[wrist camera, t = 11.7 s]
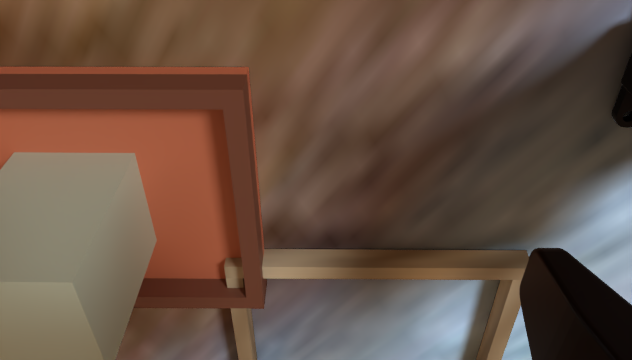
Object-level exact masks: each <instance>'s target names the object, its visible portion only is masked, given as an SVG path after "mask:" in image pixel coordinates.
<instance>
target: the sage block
mask: <svg viewBox="0 0 632 360" xmlns="http://www.w3.org/2000/svg"><path fill="white" fill-rule="evenodd" d="M156 241H157V239H156V235H155V231H154V227H153V223H152V219H151V216H150V212H149V208H148V204H147V200H146V196H145V192H144V188H143V184H142V180H141V176H140V172H139V168H138V164H137V160H136V156H135V153H44V152H14V153H13V154H12V156H11V157H10V158H9V159H8V161H7V162H6V163H5V164H4V166H3V167H2V168H1V169H0V360H115V359H116V356H117V353H118V350H119V347H120V344H121V342H122V339H123V336H124V333H125V330H126V327H127V324H128V322H129V319H130V316H131V313H132V310H133V307H134V304H135V301H136V299H137V296H138V293H139V290H140V287H141V284H142V281H143V279H144V276H145V273H146V270H147V267H148V264H149V261H150V258H151V256H152V253H153V250H154V247H155V244H156Z"/></svg>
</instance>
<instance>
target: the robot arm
mask: <svg viewBox="0 0 632 360" xmlns="http://www.w3.org/2000/svg"><path fill="white" fill-rule="evenodd" d="M621 83H622V87H621V90H620V93H619V95H618V98H617V100H616V103H615V106H614V108H613V111H612V117H613V119H614V120H615V122H616V123H617V124H618V125H620V126H621V127H632V54H631V57H630V60H629V62H628V65H627V67H626V70H625V73H624V75H623V78H622V81H621ZM628 111H631V113H630V114H629V115H627V116H624V114H625V113H626V112H628ZM623 116H624V117H623ZM519 295H520V302H521V307H522V312H523V317H524V322H525V327H526V332H527V337H528V342H529V346H530V351H531V356H532V360H632V305H631V304H630V303H628V302H627V301H626V300H625V299H624V298H622V297H621V296H620V295H619V294H618V293H616V292H615V291H614V290H613V289H612V288H610V287H609V286H608V285H607V284H605V283H604V282H603V281H602V280H601V279H599V278H598V277H597V276H596V275H595V274H593V273H592V272H591V271H590V270H589V269H587V268H586V267H585V266H584V265H582V264H581V263H580V262H579V261H578V260H576V259H575V258H574V257H573V256H572V255H570V254H569V253H568V252H567V251H565V250H563V249H560V248H536V249H534V250H533V251H532V253H531V255H530V257H529V260H528V263H527V266H526V269H525V272H524V274H523V277H522V280H521V283H520V289H519Z"/></svg>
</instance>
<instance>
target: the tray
mask: <svg viewBox="0 0 632 360" xmlns="http://www.w3.org/2000/svg"><path fill="white" fill-rule="evenodd" d="M14 152H44V153H135V156H136V160H137V164H138V168H139V172H140V176H141V180H142V184H143V188H144V192H145V196H146V200H147V204H148V208H149V212H150V216H151V219H152V223H153V227H154V231H155V235H156V239H157V241H156V244H155V247H154V250H153V253H152V256H151V258H150V261H149V264H148V267H147V270H146V273H145V276H144V279H143V281H142V284H141V287H140V290H139V293H138V296H137V299H136V301H135V304H134V307H133V308H254V309H264V304H265V295H266V286H267V279H263V271H262V264H263V256H264V240H263V228H262V216H261V205H260V193H259V182H258V170H257V159H256V147H255V135H254V124H253V112H252V101H251V89H250V77H249V67H0V169H1V168H2V167H3V166H4V164H5V163H6V162H7V161H8V159H9V158H10V157H11V156H12V154H13V153H14ZM226 258H242V267H243V275H244V288H227V282H226V276H225V269H224V265H225V260H226Z"/></svg>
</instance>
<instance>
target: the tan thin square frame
mask: <svg viewBox="0 0 632 360" xmlns="http://www.w3.org/2000/svg"><path fill="white" fill-rule="evenodd" d="M528 260H529V256H528V254H527V251H526V250H368V249H264V256H263V264H262V271H263V279H431V280H500V283H499V286H498V290H497V293H496V296H495V299H494V303H493V306H492V309H491V312H490V316H489V319H488V322H487V325H486V329H485V332H484V335H483V338H482V342H481V345H480V348H479V351H478V355H477V358H476V360H501V359H502V356H503V353H504V350H505V348H506V345H507V342H508V339H509V336H510V334H511V331H512V328H513V325H514V322H515V320H516V317H517V314H518V311H519V308H520V306H521V302H520V295H519V289H520V283H521V280H522V277H523V274H524V272H525V269H526V266H527V263H528ZM224 269H225V276H226V282H227V288H244V275H243V267H242V258H226V260H225V265H224ZM231 314H232V321H233V327H234V334H235V340H236V347H237V353H238V359H239V360H257V354H256V346H255V338H254V329H253V321H252V312H251V308H231Z"/></svg>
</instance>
